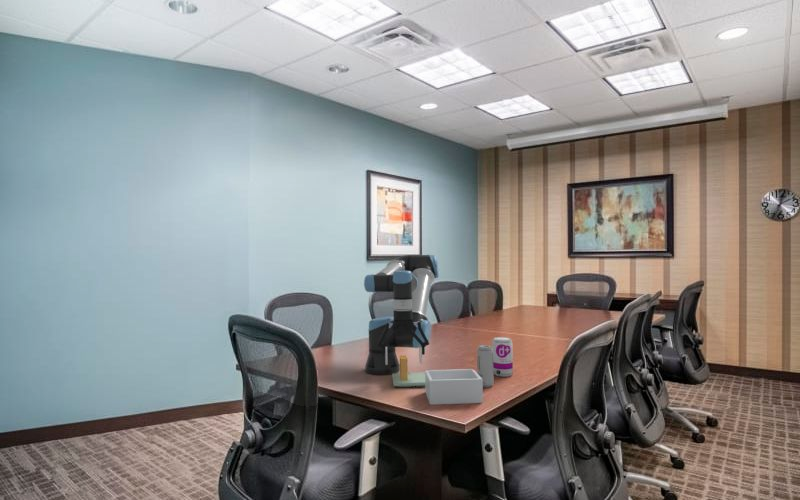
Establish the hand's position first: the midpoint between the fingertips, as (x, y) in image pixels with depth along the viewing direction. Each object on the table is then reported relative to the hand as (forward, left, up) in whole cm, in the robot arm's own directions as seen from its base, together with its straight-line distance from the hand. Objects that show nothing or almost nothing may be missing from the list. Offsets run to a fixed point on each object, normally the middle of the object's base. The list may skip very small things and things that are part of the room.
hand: (403, 363), depth 179 cm
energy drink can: (+31, -7, -8) cm, 33 cm away
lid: (+5, 0, -7) cm, 9 cm away
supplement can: (+42, +8, -8) cm, 43 cm away
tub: (+16, -20, -7) cm, 27 cm away
